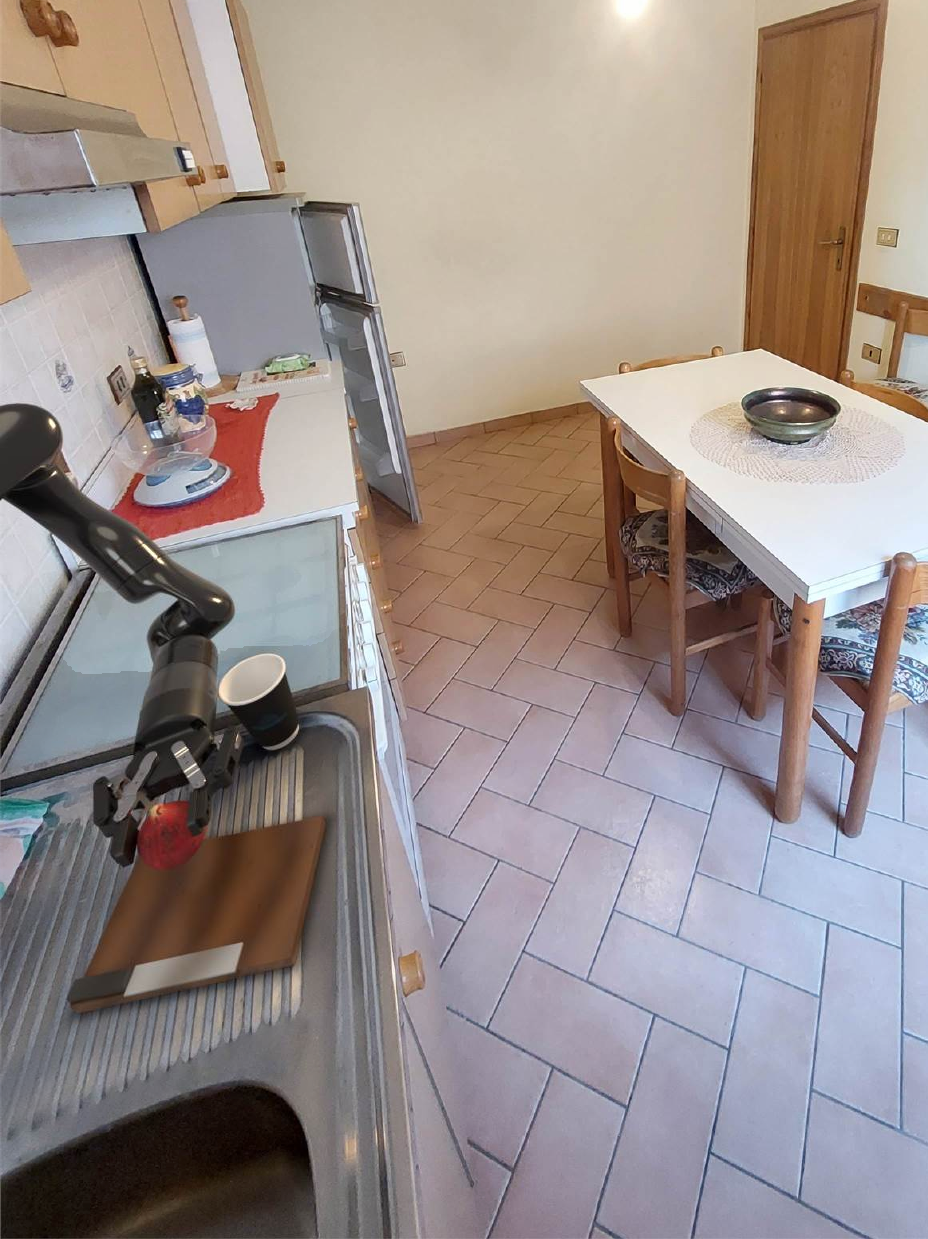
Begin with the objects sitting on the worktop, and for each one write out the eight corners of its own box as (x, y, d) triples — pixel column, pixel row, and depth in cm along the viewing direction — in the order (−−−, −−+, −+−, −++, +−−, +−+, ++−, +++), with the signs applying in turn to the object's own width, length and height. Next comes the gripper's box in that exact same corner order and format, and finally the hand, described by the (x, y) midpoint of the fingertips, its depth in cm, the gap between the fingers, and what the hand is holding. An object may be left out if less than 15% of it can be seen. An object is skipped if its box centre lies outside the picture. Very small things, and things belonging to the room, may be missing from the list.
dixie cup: (278, 769, 81) (247, 712, 75) (234, 750, 84) (202, 694, 78) (323, 718, 87) (298, 661, 82) (281, 702, 90) (254, 646, 85)
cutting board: (75, 1017, 60) (62, 1005, 59) (145, 860, 72) (136, 847, 71) (294, 968, 62) (286, 955, 61) (326, 823, 74) (319, 810, 73)
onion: (221, 860, 65) (189, 815, 61) (157, 899, 62) (119, 854, 58) (214, 815, 69) (184, 770, 65) (154, 849, 66) (119, 804, 63)
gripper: (256, 707, 78) (254, 832, 65) (123, 759, 74) (90, 905, 60) (234, 665, 75) (226, 788, 61) (92, 716, 70) (49, 862, 56)
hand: (159, 845), depth 61 cm, fingers closed on onion, 5 cm apart
